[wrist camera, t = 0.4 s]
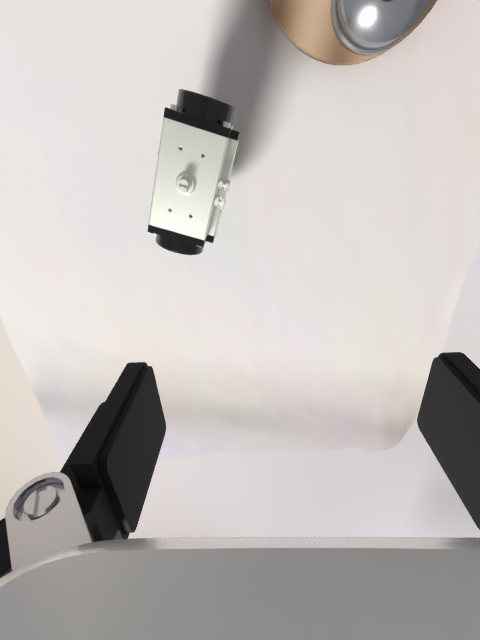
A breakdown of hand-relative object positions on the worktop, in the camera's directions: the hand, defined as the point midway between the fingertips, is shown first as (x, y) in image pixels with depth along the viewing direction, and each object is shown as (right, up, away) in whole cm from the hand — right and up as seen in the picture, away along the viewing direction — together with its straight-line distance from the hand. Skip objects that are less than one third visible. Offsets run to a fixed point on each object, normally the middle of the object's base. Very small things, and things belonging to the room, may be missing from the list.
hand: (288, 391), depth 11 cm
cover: (+9, +28, +15) cm, 33 cm away
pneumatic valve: (-5, +18, +23) cm, 30 cm away
